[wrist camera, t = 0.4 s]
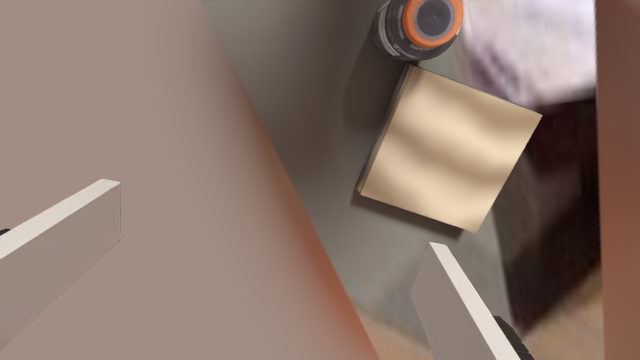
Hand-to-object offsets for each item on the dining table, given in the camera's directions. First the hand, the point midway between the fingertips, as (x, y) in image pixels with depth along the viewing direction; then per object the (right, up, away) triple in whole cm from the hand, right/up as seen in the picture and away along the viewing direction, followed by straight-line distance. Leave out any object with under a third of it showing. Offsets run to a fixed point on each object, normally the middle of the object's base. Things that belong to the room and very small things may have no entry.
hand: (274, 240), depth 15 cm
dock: (+15, +6, +24) cm, 29 cm away
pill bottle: (+10, +18, +20) cm, 29 cm away
